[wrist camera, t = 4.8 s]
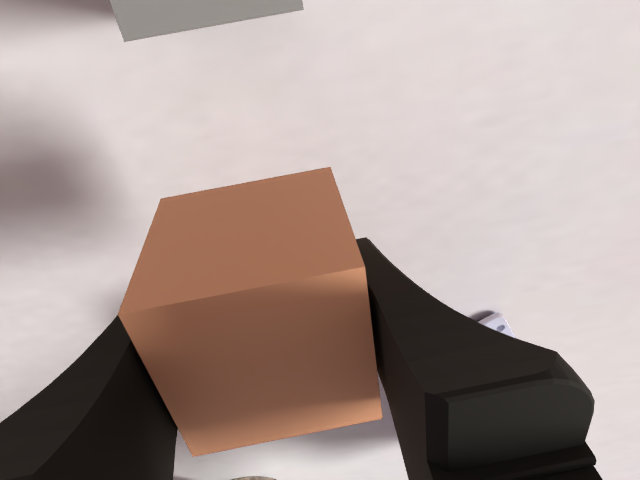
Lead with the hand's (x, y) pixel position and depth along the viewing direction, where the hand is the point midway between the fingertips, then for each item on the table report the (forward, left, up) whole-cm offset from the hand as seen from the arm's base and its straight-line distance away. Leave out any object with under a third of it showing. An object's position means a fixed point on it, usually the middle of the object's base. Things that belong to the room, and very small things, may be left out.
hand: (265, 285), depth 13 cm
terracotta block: (0, 0, -2) cm, 2 cm away
